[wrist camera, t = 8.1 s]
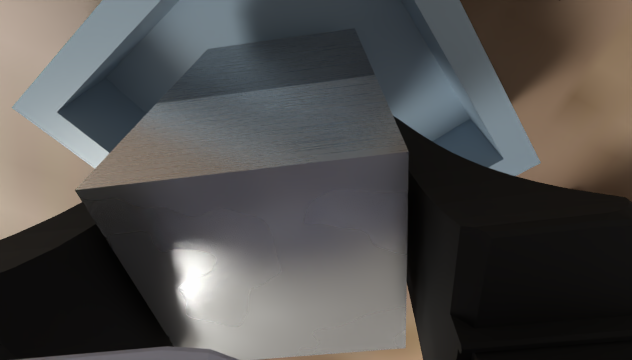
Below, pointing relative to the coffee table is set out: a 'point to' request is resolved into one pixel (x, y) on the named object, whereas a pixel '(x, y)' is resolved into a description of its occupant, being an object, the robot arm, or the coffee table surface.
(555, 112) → the coffee table surface
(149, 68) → the bin
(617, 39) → the coffee table surface
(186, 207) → the grey rectangular block
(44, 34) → the coffee table surface
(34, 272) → the robot arm
